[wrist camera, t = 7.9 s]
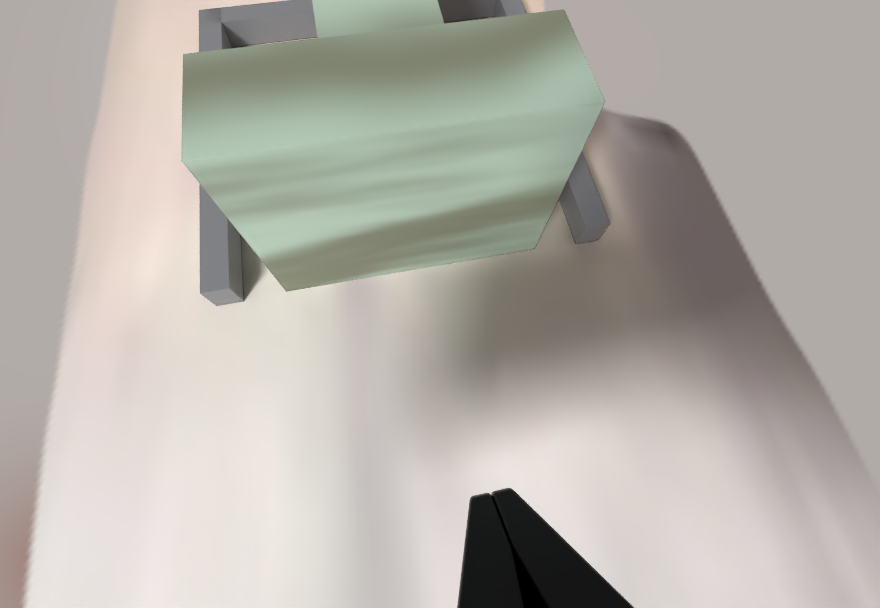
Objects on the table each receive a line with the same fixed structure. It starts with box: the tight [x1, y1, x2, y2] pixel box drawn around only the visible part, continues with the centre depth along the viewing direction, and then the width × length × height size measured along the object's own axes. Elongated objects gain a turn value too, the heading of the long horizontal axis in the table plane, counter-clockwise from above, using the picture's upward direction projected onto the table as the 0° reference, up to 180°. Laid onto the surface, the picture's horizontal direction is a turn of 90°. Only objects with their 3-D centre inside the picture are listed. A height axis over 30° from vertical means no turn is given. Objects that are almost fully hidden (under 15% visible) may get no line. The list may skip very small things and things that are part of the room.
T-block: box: [181, 0, 605, 292], centre depth 19 cm, size 14×12×9 cm
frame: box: [199, 0, 610, 306], centre depth 23 cm, size 18×18×2 cm
